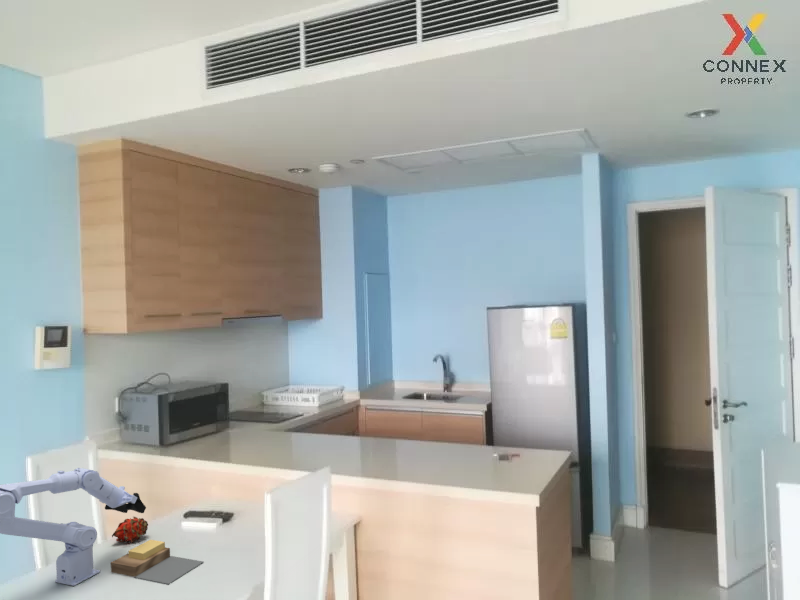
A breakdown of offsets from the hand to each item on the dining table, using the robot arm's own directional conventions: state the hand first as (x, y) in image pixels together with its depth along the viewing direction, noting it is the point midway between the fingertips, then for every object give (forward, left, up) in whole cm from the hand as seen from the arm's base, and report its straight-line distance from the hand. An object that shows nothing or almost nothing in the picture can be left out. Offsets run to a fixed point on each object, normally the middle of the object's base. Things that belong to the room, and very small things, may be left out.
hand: (135, 510), depth 197 cm
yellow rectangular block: (-5, -10, -11) cm, 15 cm away
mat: (-7, -21, -14) cm, 26 cm away
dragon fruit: (+6, +9, -14) cm, 18 cm away
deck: (-7, -9, -14) cm, 18 cm away
